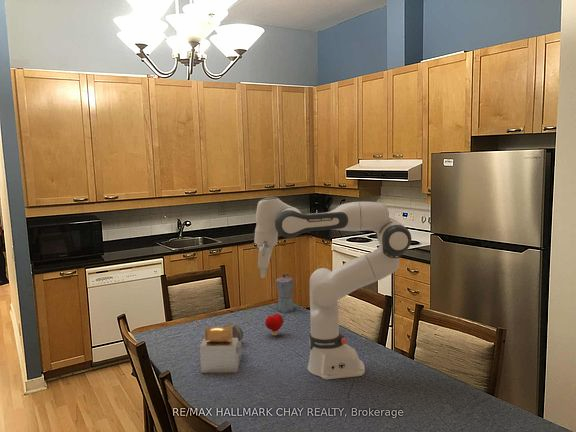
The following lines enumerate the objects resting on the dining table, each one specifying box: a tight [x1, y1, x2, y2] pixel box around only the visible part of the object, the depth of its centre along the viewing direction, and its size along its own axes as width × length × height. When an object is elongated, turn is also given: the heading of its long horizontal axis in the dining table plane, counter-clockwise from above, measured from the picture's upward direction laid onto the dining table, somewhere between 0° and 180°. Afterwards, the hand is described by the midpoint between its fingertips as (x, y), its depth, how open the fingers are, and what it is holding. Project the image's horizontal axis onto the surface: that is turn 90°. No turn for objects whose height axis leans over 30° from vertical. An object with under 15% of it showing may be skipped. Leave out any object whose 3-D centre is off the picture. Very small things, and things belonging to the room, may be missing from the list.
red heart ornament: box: [265, 313, 284, 337], centre depth 228 cm, size 9×7×10 cm
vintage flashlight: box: [223, 321, 244, 341], centre depth 218 cm, size 12×8×10 cm
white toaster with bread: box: [199, 326, 243, 374], centre depth 200 cm, size 14×17×17 cm
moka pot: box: [275, 273, 295, 313], centre depth 263 cm, size 10×15×20 cm, turn 171°
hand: (263, 274), depth 188 cm, fingers open, 8 cm apart
